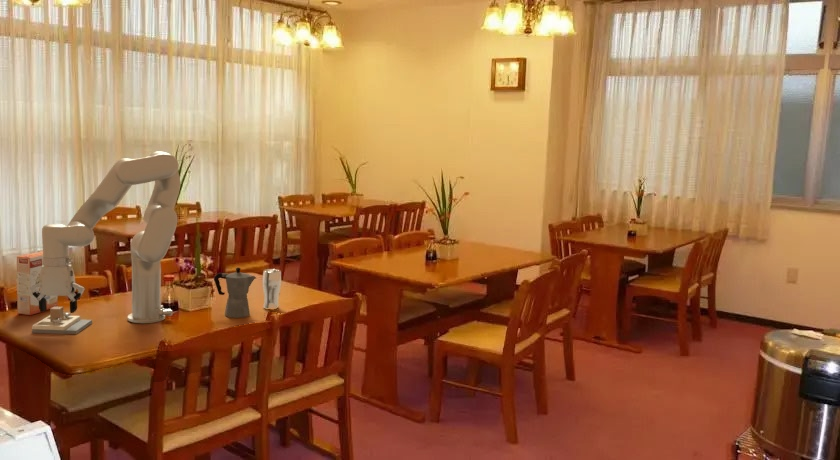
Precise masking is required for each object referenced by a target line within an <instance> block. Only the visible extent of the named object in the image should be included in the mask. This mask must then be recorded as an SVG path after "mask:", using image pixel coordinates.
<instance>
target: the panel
mask: <svg viewBox="0 0 840 460" xmlns="http://www.w3.org/2000/svg"><path fill="white" fill-rule="evenodd" d="M49 311H50V312H49V315H47V316H46V317H44V318H43V319H41V320H39V321H38V322H35V323H34V324H33V325H31V327H32V328H31V330H32V329H43V330H65V329H67V328H68V327H70V326H71V325H73V324H74V323H76V322H77V321H79V320H80V319H81V315H71V316H68V319H65V317H64V313H65V312H64V306H57V307H53V308H51V309H49ZM54 318H61V319H62V321H61V322H59V325H56V323H55V322H53V319H54Z"/></svg>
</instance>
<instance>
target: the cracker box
mask: <svg viewBox="0 0 840 460" xmlns="http://www.w3.org/2000/svg"><path fill="white" fill-rule="evenodd" d="M42 266H43V250H41V251H36V252H32V253H27V254H21V255H17V256H16V298H17V299H16V301H17V303H16V304H17V305H16V306H17V309H16V310H17V314H18V315H26V316H32V315H36V314H38V313H41V312H40V309H39V301H38V300H37V298H36V297H35V296H33V293H32V292H31V290H30V287H31V286H33V285H35V284H38V283H40V272H41V267H42ZM37 291H38V292H39V293H40V287H38V288H37ZM40 294H41V293H40ZM58 297H59V296H47V295H46V296H45V299H46V307H47V310H46V311H48V310H50V309H51V308H53V307H59V306H58V305H59V302H58V300H59V299H58Z"/></svg>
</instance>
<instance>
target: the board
mask: <svg viewBox="0 0 840 460" xmlns="http://www.w3.org/2000/svg"><path fill="white" fill-rule="evenodd" d="M92 324H93V319H81V318H80V320H79V321H77V322H76V323H74V324H73V325H71V326H70V327H68V328H67V329H65V330H43V329H32V328H31V333H33V334H59V335H60V334H61V335H62V334H63V335H78V334H79V333H80V332H81V331H83V330H85V329H86V328H87V327H89V326H91V325H92Z"/></svg>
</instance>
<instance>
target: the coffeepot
mask: <svg viewBox="0 0 840 460" xmlns="http://www.w3.org/2000/svg"><path fill="white" fill-rule="evenodd" d="M235 271H236V272H231V273H227V272H226V273H223V272H218V273H216V275H214V277H213V281H214V283H215V288H216V290H217V292H218V295H220V296H225V294H226V292H222V286H221V285H220V284H221V283H220V280H219V279H225V282H226V283H225V284H226V291H227V294H228V297H227V301H226V305H225V311H224V314H225V315H224V316H225V317H227V318H231V319H241V318H247V317H248V316H250V313H251V312H250V307H249V300H248V294H249V291H250V290H249V289H250V286H251V285H252V284H253V282H254V280H256V279H257V277H256V276H255V275H252V274H249V273H245V272H241V267H236V268H235Z"/></svg>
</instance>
